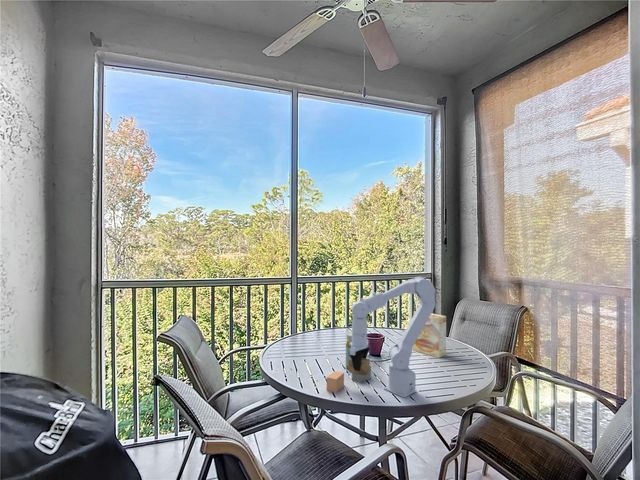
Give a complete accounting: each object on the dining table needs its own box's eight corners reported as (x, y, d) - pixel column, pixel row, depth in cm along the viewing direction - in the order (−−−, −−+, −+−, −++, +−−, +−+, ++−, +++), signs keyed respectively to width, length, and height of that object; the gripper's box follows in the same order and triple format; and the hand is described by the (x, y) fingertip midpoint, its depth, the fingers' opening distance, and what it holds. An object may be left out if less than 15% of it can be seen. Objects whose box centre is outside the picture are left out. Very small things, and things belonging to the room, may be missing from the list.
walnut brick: (369, 372, 130) (369, 359, 130) (365, 375, 126) (366, 362, 126) (352, 368, 133) (352, 356, 133) (348, 372, 130) (348, 359, 130)
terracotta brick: (334, 383, 134) (334, 370, 134) (343, 385, 132) (343, 372, 132) (326, 390, 128) (326, 377, 128) (336, 392, 126) (336, 379, 126)
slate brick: (363, 375, 143) (363, 363, 143) (370, 378, 140) (371, 366, 140) (352, 379, 138) (352, 367, 138) (359, 382, 135) (359, 370, 135)
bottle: (363, 366, 152) (364, 333, 151) (357, 372, 145) (357, 337, 145) (349, 363, 155) (350, 331, 155) (343, 368, 149) (343, 334, 149)
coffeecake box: (412, 350, 174) (412, 312, 174) (419, 347, 179) (420, 310, 179) (438, 358, 163) (439, 317, 163) (446, 354, 168) (446, 315, 168)
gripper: (357, 327, 138) (356, 360, 138) (342, 336, 125) (341, 372, 125) (373, 329, 134) (373, 363, 135) (359, 339, 122) (359, 376, 122)
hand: (359, 368), depth 130 cm, fingers closed on walnut brick, 4 cm apart
